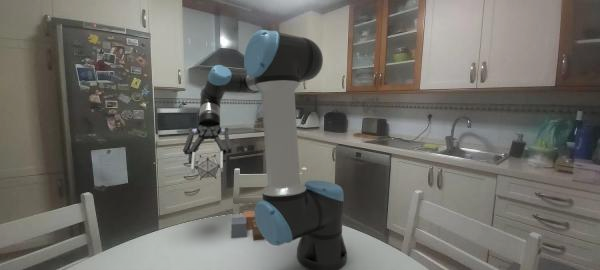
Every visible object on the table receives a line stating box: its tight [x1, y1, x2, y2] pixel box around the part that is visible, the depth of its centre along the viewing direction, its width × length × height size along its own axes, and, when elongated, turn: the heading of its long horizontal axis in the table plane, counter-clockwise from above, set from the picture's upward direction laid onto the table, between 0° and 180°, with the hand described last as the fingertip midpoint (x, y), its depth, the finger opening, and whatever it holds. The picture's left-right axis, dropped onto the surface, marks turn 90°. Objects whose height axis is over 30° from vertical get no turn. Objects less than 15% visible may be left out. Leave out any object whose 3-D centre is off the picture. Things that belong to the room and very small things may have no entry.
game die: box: [195, 154, 220, 181], centre depth 90 cm, size 9×8×10 cm
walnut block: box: [251, 220, 265, 241], centre depth 92 cm, size 5×5×5 cm
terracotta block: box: [242, 210, 255, 231], centre depth 98 cm, size 5×5×5 cm
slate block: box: [230, 216, 247, 239], centre depth 93 cm, size 5×5×5 cm
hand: (207, 170), depth 87 cm, fingers closed on game die, 8 cm apart
